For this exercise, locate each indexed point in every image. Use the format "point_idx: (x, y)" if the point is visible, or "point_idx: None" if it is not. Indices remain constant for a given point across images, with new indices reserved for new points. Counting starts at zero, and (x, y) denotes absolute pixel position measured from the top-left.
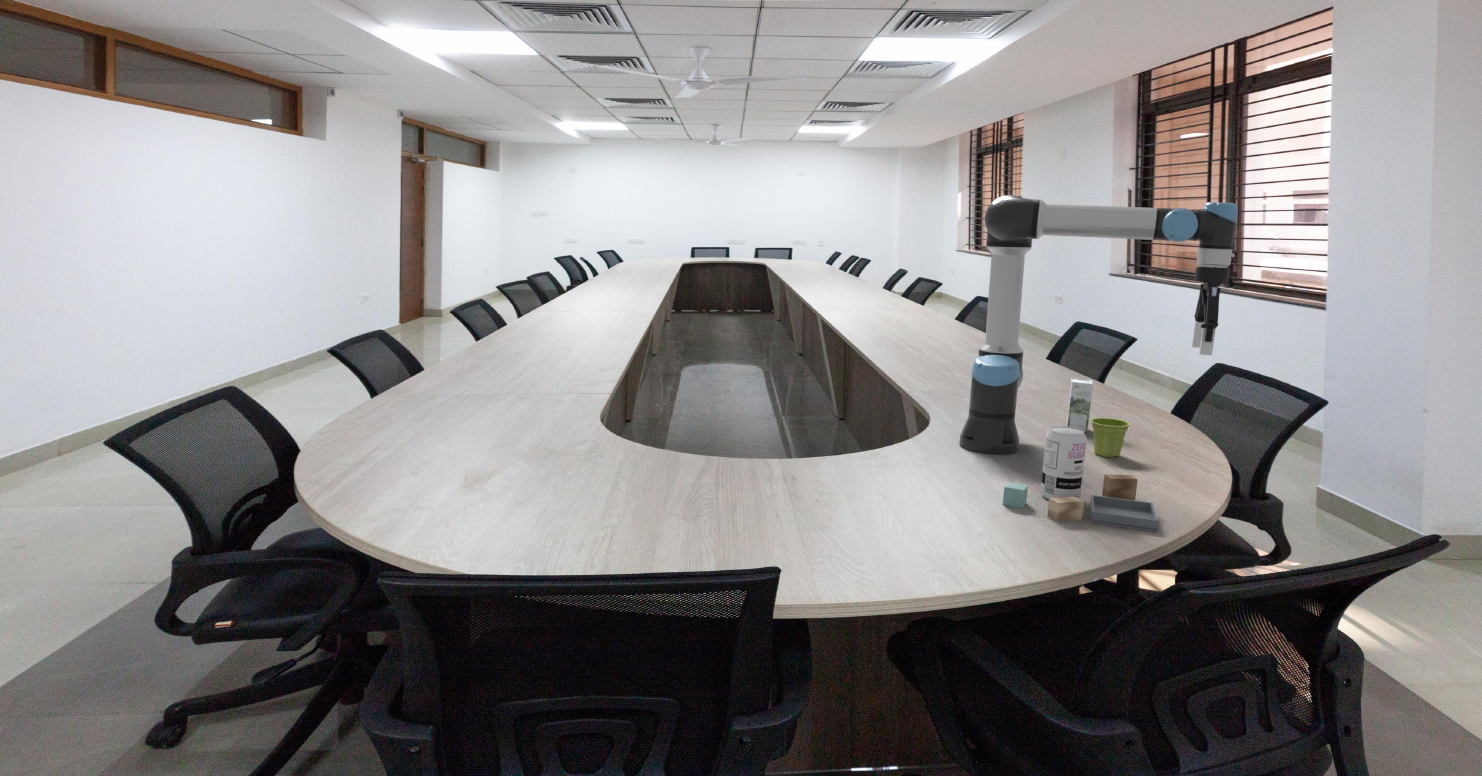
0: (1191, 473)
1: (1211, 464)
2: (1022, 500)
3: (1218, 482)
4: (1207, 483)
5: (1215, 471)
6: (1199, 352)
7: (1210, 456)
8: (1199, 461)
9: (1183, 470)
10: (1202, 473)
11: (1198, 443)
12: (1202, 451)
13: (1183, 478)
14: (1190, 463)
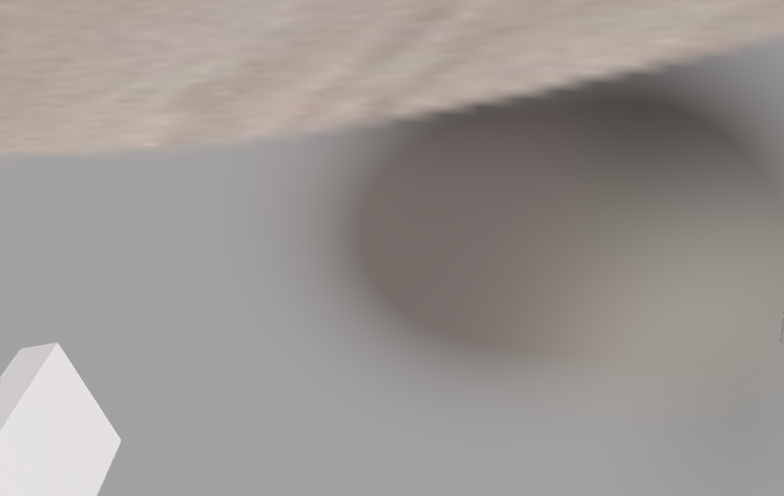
0: (119, 45)
1: (345, 103)
2: None
3: (69, 147)
4: (16, 114)
5: (234, 126)
6: (39, 359)
7: (495, 89)
8: (365, 55)
9: (142, 10)
10: (158, 85)
11: (752, 17)
12: (579, 49)
13: (5, 24)
14: (297, 24)
